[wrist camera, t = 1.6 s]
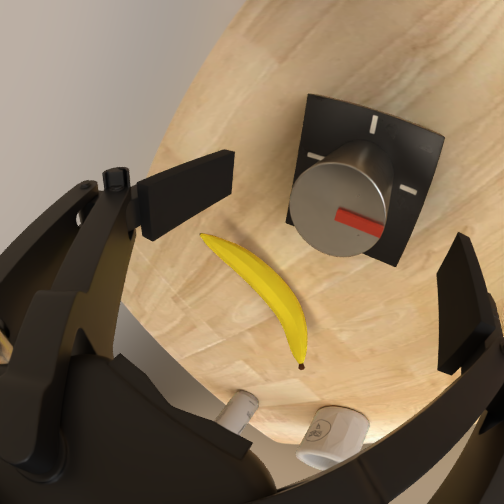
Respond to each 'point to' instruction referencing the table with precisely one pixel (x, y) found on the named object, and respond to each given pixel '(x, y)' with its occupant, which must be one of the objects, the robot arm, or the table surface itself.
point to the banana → (266, 290)
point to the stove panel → (392, 143)
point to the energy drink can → (238, 412)
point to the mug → (332, 437)
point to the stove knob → (344, 199)
